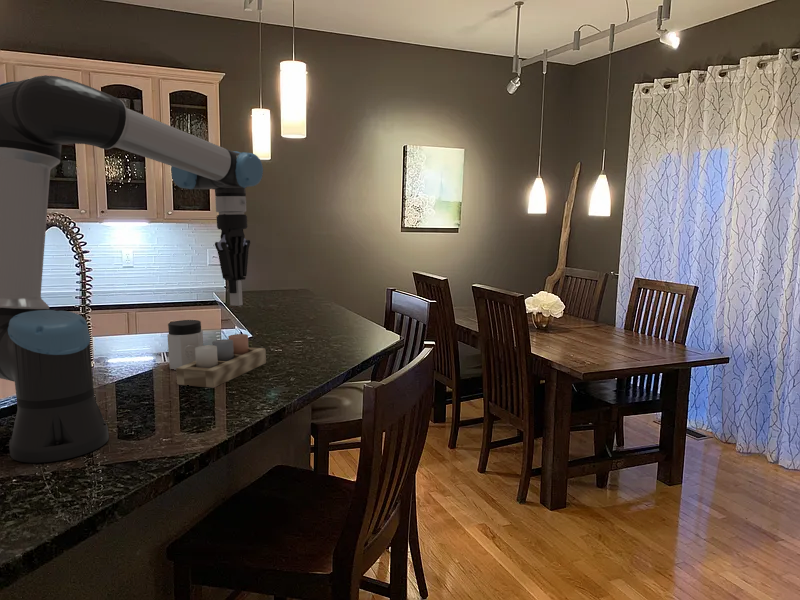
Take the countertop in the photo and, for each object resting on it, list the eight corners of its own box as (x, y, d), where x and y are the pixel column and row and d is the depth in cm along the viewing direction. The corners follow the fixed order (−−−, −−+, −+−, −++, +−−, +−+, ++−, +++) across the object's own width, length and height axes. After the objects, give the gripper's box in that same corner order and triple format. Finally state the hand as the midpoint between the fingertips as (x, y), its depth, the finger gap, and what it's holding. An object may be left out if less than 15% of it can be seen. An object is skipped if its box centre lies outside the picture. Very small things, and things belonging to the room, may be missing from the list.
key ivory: (209, 370, 143) (208, 350, 142) (192, 369, 144) (190, 349, 144) (222, 365, 148) (221, 345, 147) (204, 364, 149) (203, 344, 148)
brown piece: (242, 357, 156) (241, 338, 155) (225, 356, 158) (224, 337, 157) (252, 352, 161) (251, 334, 160) (236, 351, 162) (235, 333, 162)
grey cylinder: (226, 363, 150) (225, 344, 149) (209, 362, 151) (208, 343, 150) (237, 359, 154) (236, 339, 154) (221, 357, 156) (219, 338, 155)
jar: (173, 373, 154) (170, 326, 152) (166, 366, 161) (163, 322, 159) (209, 367, 159) (206, 322, 157) (200, 361, 166) (197, 318, 164)
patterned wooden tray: (213, 387, 140) (212, 371, 140) (177, 384, 143) (176, 368, 143) (266, 362, 163) (265, 348, 162) (233, 360, 166) (233, 346, 165)
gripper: (229, 213, 147) (235, 309, 150) (258, 213, 159) (262, 301, 162) (203, 214, 149) (209, 308, 152) (233, 213, 161) (237, 301, 165)
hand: (236, 305), depth 157 cm, fingers closed
